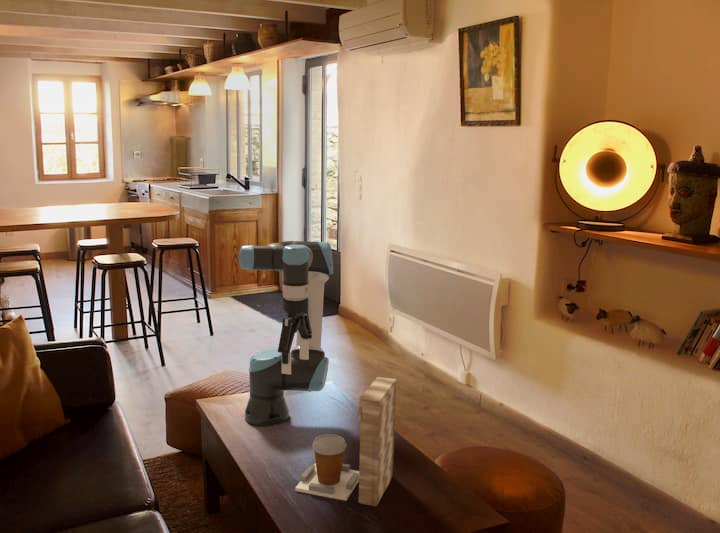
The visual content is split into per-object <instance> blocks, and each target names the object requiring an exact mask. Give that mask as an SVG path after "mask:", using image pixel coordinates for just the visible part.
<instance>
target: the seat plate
mask: <svg viewBox="0 0 720 533" xmlns="http://www.w3.org/2000/svg"><path fill="white" fill-rule="evenodd" d="M358 484H359V470H355V469H351V464H347V463H344V462H343V463H342V470H341V476H340V481H339V482H338V483H337V484H335V485H323V484H321V483H319V481H318V476H317V468H316V462H315V463H314V464H309V466H308V467H307V468H306V470H304V472H303V473H302V474H301V475H300V481H299V483H298V484H297V485H296V486H295V487H294V488H295V490H294V491H295V492H298V493H305V494H310V495H314V496H320V497H325V498H329V499H336V500H341V501H347V500H349V499H348V498H349V497H350V496H351V494H352V493H353V491H354V489H355V488H356V487H357V485H358Z"/></svg>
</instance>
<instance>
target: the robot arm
mask: <svg viewBox="0 0 720 533" xmlns="http://www.w3.org/2000/svg"><path fill="white" fill-rule="evenodd" d="M333 262H334V261H333V251H332V246H331V244H330V242H326V241H306V240H305V241H303V240H301V241H300V240H299V241H298V240H286V241H285V240H284V241H280V242H279V241H278V242H273V243H272V242H271V243H269V244H267V245H252V244H249V245H248V244H247V245H242V246H241V247H240V249H239V253H238V263H239V267H240V269H242V270H247V271H275V272H282V296H283V299H282V310H283V312H285V313H287V317H286V318H285V317H284V318H282V327H281V331H280V337H279V342H278V347H277V349H270V350H269V349H267V350H262V351H260V352H257V353H255V354H254V355H252V356H251V357H250V359H249V368H248V372H249V399H248V402H247V403H246V404H247V405H246V407H245V410H244V420H245V421H246V422H247V423H249V424H250V425H254V426H259V427H268V426H269V427H270V426H271V427H272V426H277V425H280V424H283V423H285V422H287V420H288V419H289V417H290V414H289V412H290V411H289V410H290V409H289V407H288V403H287V401H286V398H285V396H284V395H285V394H284V393H285V392H284V391H290V392H292V391H295V392H296V391H297V392H298V391H299V392H320V391H322V390H323V389H324V388H325V386H326V385H325V384H326V381H327V376H328V370H329V363H330V362H329V358H328V357H327V356H325V354H326V353H325V351H324V350H323V349H322V347H321V346H322V334H323V333H322V331H323V316H324V315H323V314H324V296H325V294H324V293H325V284H326V282H327V281H329V280H330V275H332V274H334V263H333ZM295 334H296V341H295V342H296V343H295V347H294V348H292V345H293V341H294V338H295ZM291 348H292V349H291Z"/></svg>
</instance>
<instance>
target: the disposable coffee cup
mask: <svg viewBox="0 0 720 533" xmlns="http://www.w3.org/2000/svg"><path fill="white" fill-rule="evenodd" d="M312 448H313V450H314V451H313V452H314V459H315V463H316V468H317V476H318V481H319V483H321V484H323V485H335V484H337V483H338V482H339V481H340V476H341V470H342V463H343V464H344V455H345V451H346V448H347V443H346V440H345V438H344V437H343V436H340V435H338V434H334V433H332V434H331V433H328V434H327V433H325V434H321V435H318V436H316V437H315V439H314V440H313V443H312Z"/></svg>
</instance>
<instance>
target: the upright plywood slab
mask: <svg viewBox="0 0 720 533" xmlns="http://www.w3.org/2000/svg"><path fill="white" fill-rule="evenodd" d="M396 388H397V379H396V378H390V377H381V376H377V377H376V378H375V379H374V380H373V381H372V383H371V384H370V385H369V386H368V387H367V389H366V390H365V391H364V392H363V393H362V394H361V396H360V397H359V398H358V421H360V422H359V424H360V425H359V426H360V427H359V430H360V431H359V465H358V471H359V482H358V503H359V504H362V505H367V506H372V507H377V506H378V504H379V503H380V500H381V499H382V497H383V496H384V493H385V492H386V490H387V488H388V486H389V485H390V482H391V481H392V478H393V476H394V448H395V443H394V442H395V425H396V424H395V423H396V422H395V420H396V419H395V418H396V415H395V414H396V394H397V393H396V392H397V391H396V390H397V389H396Z"/></svg>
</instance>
